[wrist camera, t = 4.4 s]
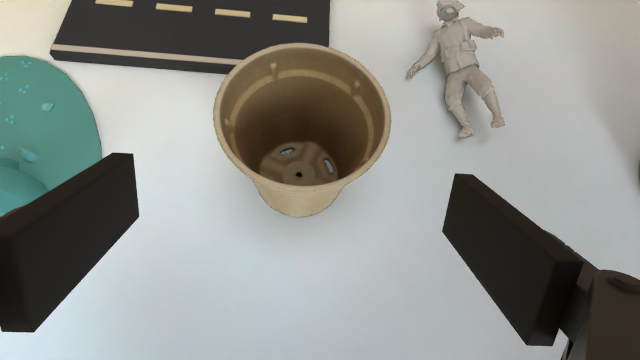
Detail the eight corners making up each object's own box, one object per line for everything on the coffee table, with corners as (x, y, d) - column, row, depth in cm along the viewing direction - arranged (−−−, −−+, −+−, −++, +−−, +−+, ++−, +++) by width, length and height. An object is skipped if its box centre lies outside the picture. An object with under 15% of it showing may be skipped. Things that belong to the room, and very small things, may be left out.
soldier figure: (422, 147, 31) (386, 11, 32) (440, 147, 35) (408, 26, 36) (526, 117, 26) (481, -41, 27) (533, 121, 30) (494, -17, 31)
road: (329, -16, 36) (330, -25, 36) (326, 82, 31) (328, 75, 31) (96, -40, 35) (91, -49, 34) (54, 60, 30) (48, 52, 29)
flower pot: (205, 177, 27) (173, 106, 19) (296, 103, 30) (301, 17, 22) (299, 268, 25) (306, 231, 17) (385, 177, 28) (425, 111, 20)
